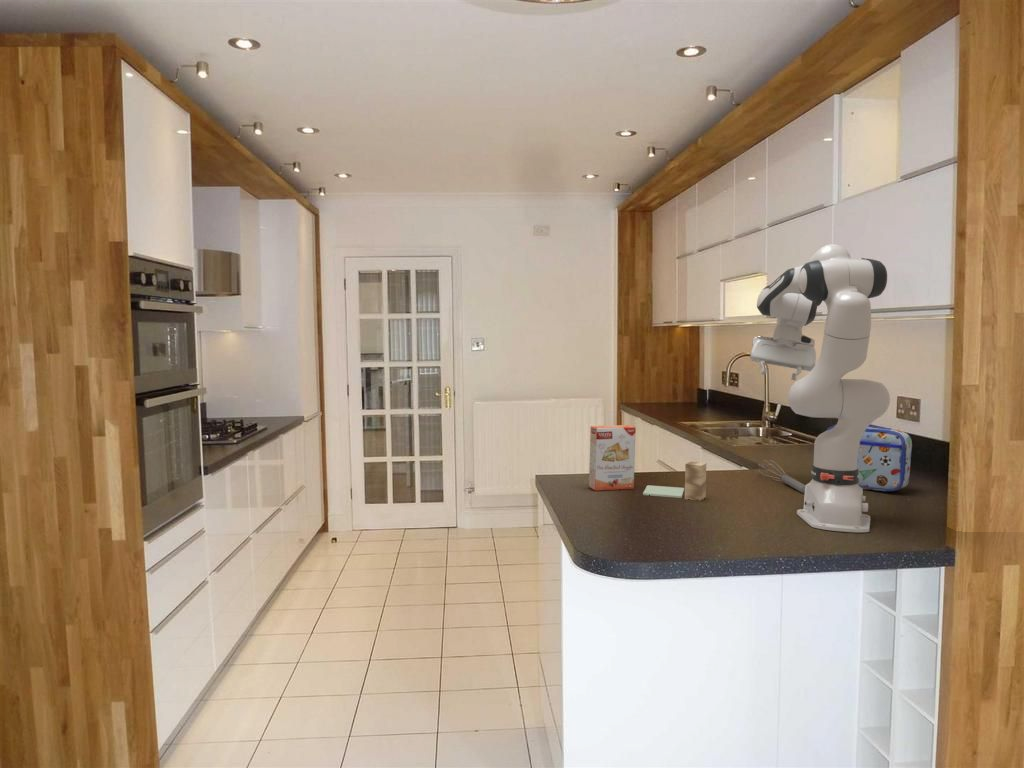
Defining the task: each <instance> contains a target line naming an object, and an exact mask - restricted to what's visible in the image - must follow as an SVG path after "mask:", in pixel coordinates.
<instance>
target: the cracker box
mask: <svg viewBox="0 0 1024 768" xmlns="http://www.w3.org/2000/svg"><path fill="white" fill-rule="evenodd" d="M589 433H590V435H589V437H590V438H589V466H588V467H589V471H588V472H589V473H588V476H589V477H588V487H589V488H590V489H591V490H593V491H595V492H596V491H597V492H598V491H599V492H601V491H616V490H617V491H618V490H619V489H620V490H633V489H634V484H635V456H636V455H635V454H636V427H635V426H633V425H631V424H630V425H629V424H625V425H624V424H622V425H619V424H618V425H617V424H616V425H613V424H611V425H590V431H589Z"/></svg>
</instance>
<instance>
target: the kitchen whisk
mask: <svg viewBox="0 0 1024 768" xmlns="http://www.w3.org/2000/svg"><path fill="white" fill-rule="evenodd" d="M764 461H765V463H763V462H764ZM769 461H770V462H773V463H774V464H773V463H770V462H769ZM766 463H768V464H766ZM767 465H771V466H772V467H773V468H775V469H776V467H778V468H779V469H780V470H781V471H782V472H781V471H780V470H778V472H777V471H773V470H771V469H769V468H768V467H766V466H767ZM758 466H760V468H761V469H764V471H765V473H766V474H764V473H763V472H762V471H760V468H758V472H759V473H760V474H761V475H762V476H764V475H765V476H767V477H772V478H773V479H774V478H775V479H776V482H777V481H779V482H781V481H782V482H783V483H785V484H786V485H788V486H789V487H791V488H793V489H795V490H796V491H799V493H802V494H803V495H805V486H806V485H807V484H804V483H802V482H800V481H798V480H797V479H795V478H793V477H791V476H789V474H786V472H785V471H784V470H783V469H782V468H781V466H779V465H778V464H775V461H773V460H772V459H771V460H770V459H769V460H762V461H761V464H760V463H759V464H758ZM775 466H776V467H775ZM767 471H769V472H772V473H774V474H775V475H777V476H779V477H775V476H771V475H770V474H769V473H768V472H767ZM769 475H770V476H769ZM780 477H781V478H780ZM777 479H778V480H777Z"/></svg>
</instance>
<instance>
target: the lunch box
mask: <svg viewBox="0 0 1024 768" xmlns="http://www.w3.org/2000/svg"><path fill="white" fill-rule="evenodd" d="M835 426H836V424H835V425H833V426H832V425H831V426H829V427H828V428H827V429H826V430H825V431H828V430H830V429H832V428H834V427H835ZM912 448H913V442H912V438H911V436H910V435H909V434H908V433H906V432H904V431H901V430H898V429H892V428H889V427H888V428H886V427H882V426H877V425H876V426H875V425H869V426H868V427H867V429H866V430H865V432H864V433H863V435H862V437H861V440H860V444H859V450H858V460H857V469H858V470H859V483H858V485H859V486H860V487H861V488H862V489H863V490H867V491H870V490H871V491H878V492H879V491H881V492H896V491H898V490H901V489H904V488H906V487H907V486H908V484H909V481H910V474H911V473H910V472H911V459H912Z"/></svg>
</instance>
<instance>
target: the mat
mask: <svg viewBox="0 0 1024 768" xmlns="http://www.w3.org/2000/svg"><path fill="white" fill-rule="evenodd" d="M684 493H685V487H678V486H676V487H675V486H665V485H664V486H663V485H662V486H661V485H646V487H645V489H644V491H643V492H642V496H649V495H650V496H653V497H662V498H663V497H666V498H675V499H676V498H677V499H682V498H683V495H684Z"/></svg>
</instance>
